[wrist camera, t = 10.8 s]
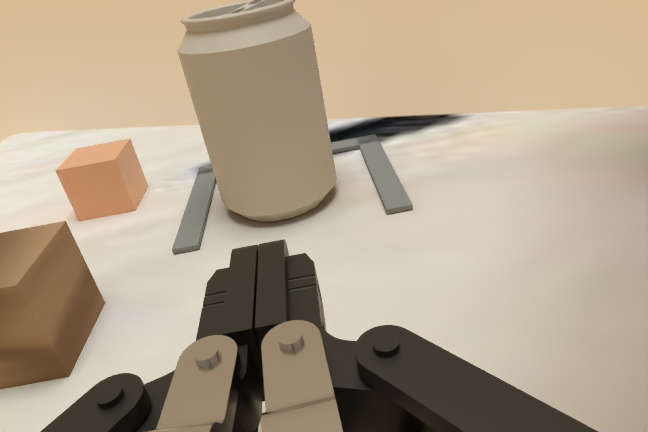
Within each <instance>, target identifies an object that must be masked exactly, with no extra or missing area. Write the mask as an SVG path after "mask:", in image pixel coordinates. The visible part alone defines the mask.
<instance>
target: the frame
mask: <svg viewBox="0 0 648 432" xmlns="http://www.w3.org/2000/svg"><path fill="white" fill-rule="evenodd" d="M331 148H332V154H333V153H338V152H344V151H349V150H354V149H360V150H361V152H362V155H363V157H364V160H365V162H366V165H367V167H368V169H369V172H370V174H371V177H372V179H373V181H374V184H375V186H376V189H377V191H378V193H379V196H380V198H381V201H382V203H383V205H384V208H385V210H386V213H387V214H390V213H396V212H401V211H406V210H412V209H413V206H412V203H411V201H410V199H409V197H408V196H407V194H406V192H405V190H404V188H403V186H402V184H401V182H400V180H399V178H398V177H397V175H396V173H395V171H394V169H393V167H392V165H391V163H390V161H389V159H388V158H387V156H386V154H385V152H384V150H383V148H382V146H381V144H380V142H379V140H378V139H377V137H376V135H370V136H365V137H359V138H354V139H349V140H343V141H338V142H333V143H331ZM215 183H216V178H215V174H214V171H213V168H212V165H210V166H205V167H200V168H199V171H198V174H197V177H196V180H195V183H194V186H193V189H192V192H191V195H190V198H189V201H188V204H187V207H186V209H185V212H184V215H183V218H182V221H181V224H180V227H179V230H178V233H177V236H176V239H175V242H174V245H173V248H172V251H173V254H177V253H182V252H187V251H193V250H198V249H199V248H200V244H201V240H202V236H203V232H204V228H205V224H206V220H207V216H208V212H209V208H210V204H211V199H212V195H213V191H214V187H215Z"/></svg>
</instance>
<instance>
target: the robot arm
mask: <svg viewBox="0 0 648 432" xmlns="http://www.w3.org/2000/svg"><path fill="white" fill-rule="evenodd" d="M262 401H265V406H266V412H265V413H262ZM41 432H598V431H596V430H594V429H592V428H590V427H588V426H586V425H585V424H583V423H581V422H579V421H577V420H575V419H573V418H572V417H570V416H568V415H566V414H564V413H562V412H560V411H558V410H557V409H555V408H553V407H551V406H549V405H547V404H545V403H543V402H542V401H540V400H538V399H536V398H534V397H532V396H530V395H528V394H527V393H525V392H523V391H521V390H519V389H517V388H515V387H514V386H512V385H510V384H508V383H506V382H504V381H502V380H500V379H499V378H497V377H495V376H493V375H491V374H489V373H487V372H485V371H484V370H482V369H480V368H478V367H476V366H474V365H472V364H470V363H469V362H467V361H465V360H463V359H461V358H459V357H457V356H456V355H454V354H452V353H450V352H448V351H446V350H444V349H442V348H441V347H439V346H437V345H435V344H433V343H431V342H429V341H427V340H426V339H424V338H422V337H420V336H418V335H416V334H414V333H412V332H411V331H409V330H407V329H405V328H402V327H399V326H394V325H383V326H378V327H374V328H372V329H370V330H368V331H366V332H365V333H363V334H362V335H361V336H360V337H359V339H358V340H357V341H347V340H341V339H338V338H335V337H333V336H331V335H330V334H328V333H327V332H326V325H325V318H324V310H323V303H322V298H321V293H320V289H319V284H318V280H317V275H316V270H315V266H314V262H313V261H312V260H311V259H310V258H309V257H308V256H307V254H306V253H303V254H298V255H292V256H289V253H288V249H287V245H286V242H285V240H279V241H273V242H268V243H263V244H259V245H253V246H247V247H242V248H237V249H233V250H232V253H231V260H230V267H229V268H224V269H219V270H216V272H215V273H214V274H213V276H212V277H211V278H210V280H209V281H208V282H207V287H206V292H205V297H204V302H203V308H202V312H201V318H200V323H199V328H198V333H197V338H196V341H195V342H194V343H192V344H191V345H190V346H188V347H187V348H186V349H185V350H184V351H183V353H182V354H181V356H180V358H179V360H178V363H177V366H176V369H175V370H174V371H173V372H171V373H169V374H167V375H165V376H163V377H160V378H158V379H156V380H154V381H151V382H149V383H147V384H143V382H142V380H141V379H140V377H138V376H137V375H134V374H130V373H122V374H117V375H113V376H111V377H108V378H106V379H104V380H102V381H101V382H99V383H98V384H96V385H95V386H94V387H92V388H91V389H90V390H89V391H88V392H87V393H85V394H84V395H83V396H82V397H81V398H79V399H78V400H77V401H76V402H75V403H74V404H72V405H71V406H70V407H69V408H68V409H67V410H65V411H64V412H63V413H62V414H61V415H60V416H58V417H57V418H56V419H55V420H54V421H52V422H51V423H50V424H49V425H48V426H47V427H45V428H44V429H43V430H42V431H41Z"/></svg>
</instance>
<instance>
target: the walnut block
mask: <svg viewBox="0 0 648 432" xmlns="http://www.w3.org/2000/svg"><path fill="white" fill-rule="evenodd" d="M104 304H105V302H104V300H103V298H102V296H101V294H100V291H99V289H98V287H97V285H96V283H95V281H94V279H93V277H92V275H91V273H90V271H89V269H88V267H87V265H86V262H85V260H84V258H83V256H82V254H81V252H80V250H79V248H78V246H77V244H76V242H75V240H74V238H73V235H72V233H71V231H70V229H69V227H68V225H67V223H66V221H64V222H58V223H53V224H47V225H42V226H36V227H31V228H25V229H20V230H14V231H9V232H3V233H0V389H4V388H10V387H15V386H21V385H26V384H32V383H37V382H43V381H48V380H54V379H59V378H65V377H69V376H70V374H71V372H72V370H73V368H74V366H75V364H76V362H77V360H78V357H79V355H80V353H81V351H82V349H83V347H84V345H85V343H86V341H87V339H88V337H89V335H90V333H91V331H92V328H93V326H94V324H95V322H96V320H97V318H98V316H99V314H100V312H101V310H102V308H103V306H104Z"/></svg>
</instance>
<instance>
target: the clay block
mask: <svg viewBox="0 0 648 432" xmlns="http://www.w3.org/2000/svg"><path fill="white" fill-rule="evenodd" d="M56 173H57V175H58V177H59V179H60V181H61V183H62V185H63V188H64V190H65V192H66V194H67V196H68V198H69V200H70V203H71V205H72V207H73V209H74V211H75V213H76V215H77V217H78V220H79V221H83V220H88V219H93V218H99V217H104V216H109V215H115V214H120V213H125V212H131V211H135V210H136V208H137V206H138V205H139V203H140V201H141V199H142V197H143V195H144V193H145V191H146V189H147V187H148V185H147V182H146V179H145V177H144V174H143V171H142V169H141V166H140V163H139V161H138V158H137V155H136V153H135V150H134V147H133V145H132V142H131V140H130V139H126V140H120V141H115V142H110V143H104V144H99V145H94V146H88V147H83V148H78V149H76V150H75V151H74V152H73V153H72V154H71V155H70V156H69V157H68V158H67V159H66V160H65V161H64V162H63V163H62V164H61V165H60V166H59V167H58V168H57V170H56Z"/></svg>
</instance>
